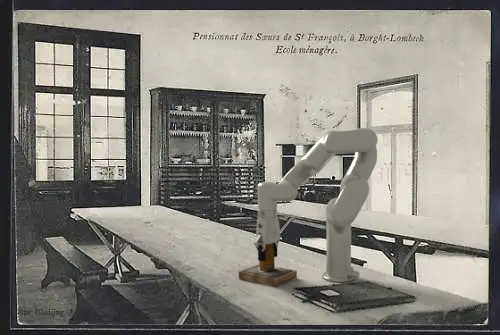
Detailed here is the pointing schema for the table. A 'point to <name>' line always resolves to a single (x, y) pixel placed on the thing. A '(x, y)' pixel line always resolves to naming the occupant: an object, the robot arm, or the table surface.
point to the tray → (268, 276)
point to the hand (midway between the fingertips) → (267, 258)
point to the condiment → (268, 260)
